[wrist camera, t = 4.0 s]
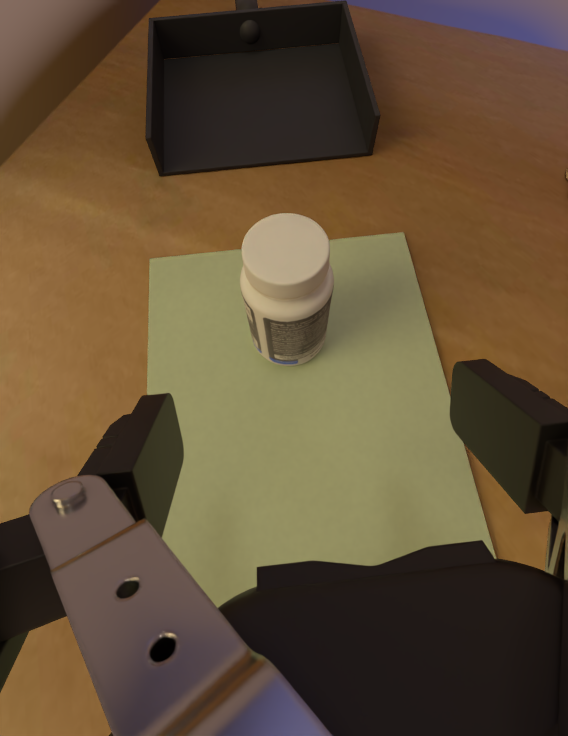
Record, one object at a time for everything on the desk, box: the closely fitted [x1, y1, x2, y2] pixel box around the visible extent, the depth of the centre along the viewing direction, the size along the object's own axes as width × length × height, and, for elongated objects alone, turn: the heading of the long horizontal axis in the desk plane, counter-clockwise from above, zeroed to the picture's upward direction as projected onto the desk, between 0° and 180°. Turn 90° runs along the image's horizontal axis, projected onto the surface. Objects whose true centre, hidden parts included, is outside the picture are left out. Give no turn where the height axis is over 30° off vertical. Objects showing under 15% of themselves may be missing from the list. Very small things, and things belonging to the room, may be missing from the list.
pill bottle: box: [240, 213, 334, 366], centre depth 22 cm, size 5×5×8 cm
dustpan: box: [146, 0, 380, 176], centre depth 34 cm, size 20×17×3 cm
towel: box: [147, 232, 496, 608], centre depth 23 cm, size 28×18×1 cm, turn 6°
